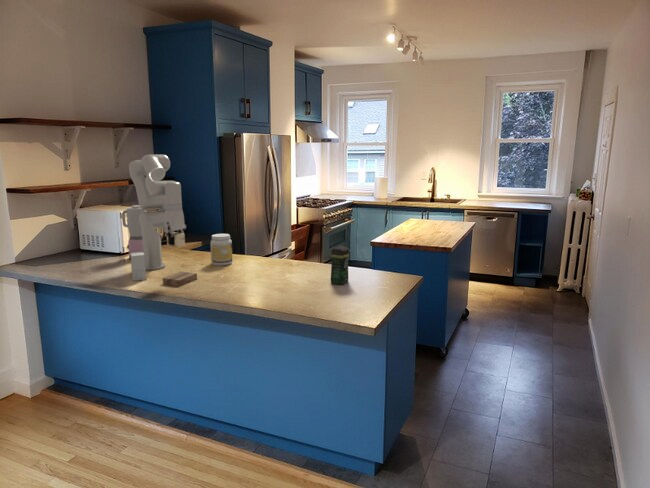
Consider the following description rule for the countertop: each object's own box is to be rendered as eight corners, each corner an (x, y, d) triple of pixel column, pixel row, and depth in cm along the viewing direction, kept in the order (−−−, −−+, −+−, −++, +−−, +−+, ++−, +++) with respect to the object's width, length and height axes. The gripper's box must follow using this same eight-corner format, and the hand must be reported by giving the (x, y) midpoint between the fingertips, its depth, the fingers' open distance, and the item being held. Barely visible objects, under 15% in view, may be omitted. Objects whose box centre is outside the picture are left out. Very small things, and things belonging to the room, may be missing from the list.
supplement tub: (236, 264, 277) (235, 235, 274) (216, 267, 270) (214, 237, 267) (227, 260, 287) (226, 232, 283) (208, 262, 280) (206, 234, 277)
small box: (146, 279, 244) (144, 254, 241) (133, 281, 241) (131, 256, 238) (144, 275, 251) (143, 251, 248) (132, 277, 248) (130, 252, 245)
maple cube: (167, 246, 235) (166, 234, 234) (175, 243, 241) (174, 232, 239) (177, 247, 233) (176, 234, 232) (185, 244, 238) (184, 233, 237)
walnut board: (162, 284, 236) (162, 278, 236) (181, 277, 249) (180, 271, 248) (179, 286, 233) (179, 280, 232) (197, 279, 245) (196, 273, 245)
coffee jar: (342, 286, 235) (343, 249, 231) (328, 283, 239) (328, 247, 235) (350, 281, 243) (351, 245, 240) (337, 279, 247) (337, 244, 243)
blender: (154, 256, 296) (151, 204, 289) (144, 260, 284) (141, 207, 277) (130, 255, 298) (127, 204, 291) (120, 259, 286) (115, 206, 280)
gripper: (179, 205, 242) (181, 240, 246) (155, 208, 227) (158, 246, 230) (191, 205, 240) (193, 241, 243) (168, 209, 224) (170, 247, 227)
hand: (176, 243), depth 237 cm, fingers closed on maple cube, 6 cm apart
